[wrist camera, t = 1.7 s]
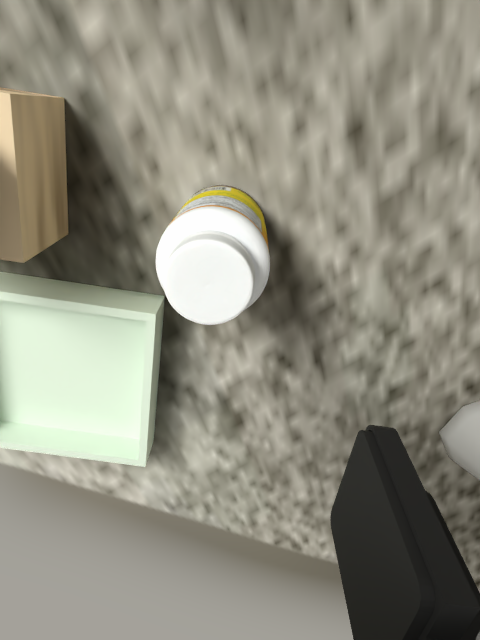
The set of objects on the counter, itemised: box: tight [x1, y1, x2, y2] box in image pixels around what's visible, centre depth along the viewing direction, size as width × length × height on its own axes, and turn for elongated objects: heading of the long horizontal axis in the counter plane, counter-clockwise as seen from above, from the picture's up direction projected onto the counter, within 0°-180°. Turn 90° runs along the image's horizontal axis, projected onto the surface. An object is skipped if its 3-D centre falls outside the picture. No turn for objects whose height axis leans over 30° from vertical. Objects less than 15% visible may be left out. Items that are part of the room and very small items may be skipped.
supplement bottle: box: [156, 185, 270, 325], centre depth 23 cm, size 6×6×10 cm
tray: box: [0, 272, 165, 467], centre depth 31 cm, size 13×13×3 cm
